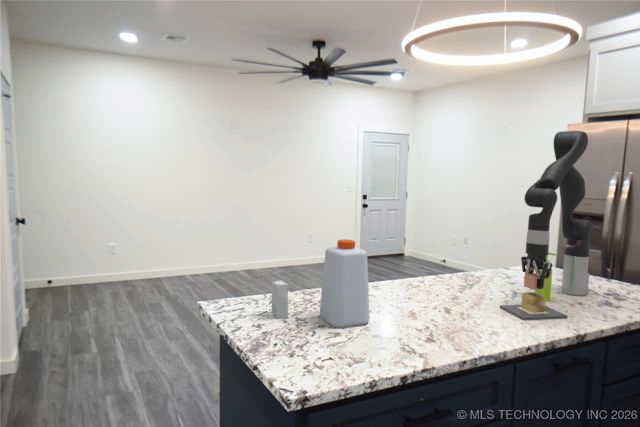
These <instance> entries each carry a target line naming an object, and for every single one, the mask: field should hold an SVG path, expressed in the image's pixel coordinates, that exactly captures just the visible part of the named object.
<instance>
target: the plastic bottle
mask: <svg viewBox="0 0 640 427" xmlns="http://www.w3.org/2000/svg"><path fill="white" fill-rule="evenodd" d="M324 252H325V253H324V263H323V272H322V273H323V275H322V282H321V283H322V285H321V297H320V306H319V307H320V308H319V316H320V318H321V319H322V320H324V321H325V322H326V323H328V324H329V325H330V326H332V327H334V328H347V327H348V328H349V327H355V326H362V325H365V324H366V325H367V323H369V322H370V297H369V296H370V294H369V271H368V270H369V268H368V267H369V266H368V252H367V251H366V250H364V249H362V248H359V247H356V241H355V240H352V239H339V240H337V246H332V247H331V246H329V247H328V248H326V249H325V251H324Z"/></svg>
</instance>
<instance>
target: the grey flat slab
mask: <svg viewBox="0 0 640 427" xmlns="http://www.w3.org/2000/svg"><path fill="white" fill-rule="evenodd" d="M521 305H522V304H502V305H499V308H500V309H501V310H503V311H505V312H507V313H508V314H510V313H511V314H510V315H512V314H513V316H514V315H515V316H514V317H516V316H517V318H519V319H521V320H522V321H538V320H540V321H541V320H557V319H558V320H559V319H560V320H561V319H568V315H567V314H565V313H562V312H560V311H558V310H556V309H553V308H551V307H550V306H546V305H545V308H544V312H537V313H531V312H529V311H526V310H524V309H522V308H521Z"/></svg>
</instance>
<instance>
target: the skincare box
mask: <svg viewBox="0 0 640 427" xmlns="http://www.w3.org/2000/svg"><path fill="white" fill-rule="evenodd" d="M270 286H271V314H272V315H273V316H274V317H275V318H276V319H278V320H279V319H280V320H281V319H286V318H288V317H289V299H288V298H289V291H288V290H289V289H288V288H289V287H288V283H286V282H284V280H281V279H280V280H274V281H271V285H270Z"/></svg>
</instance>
